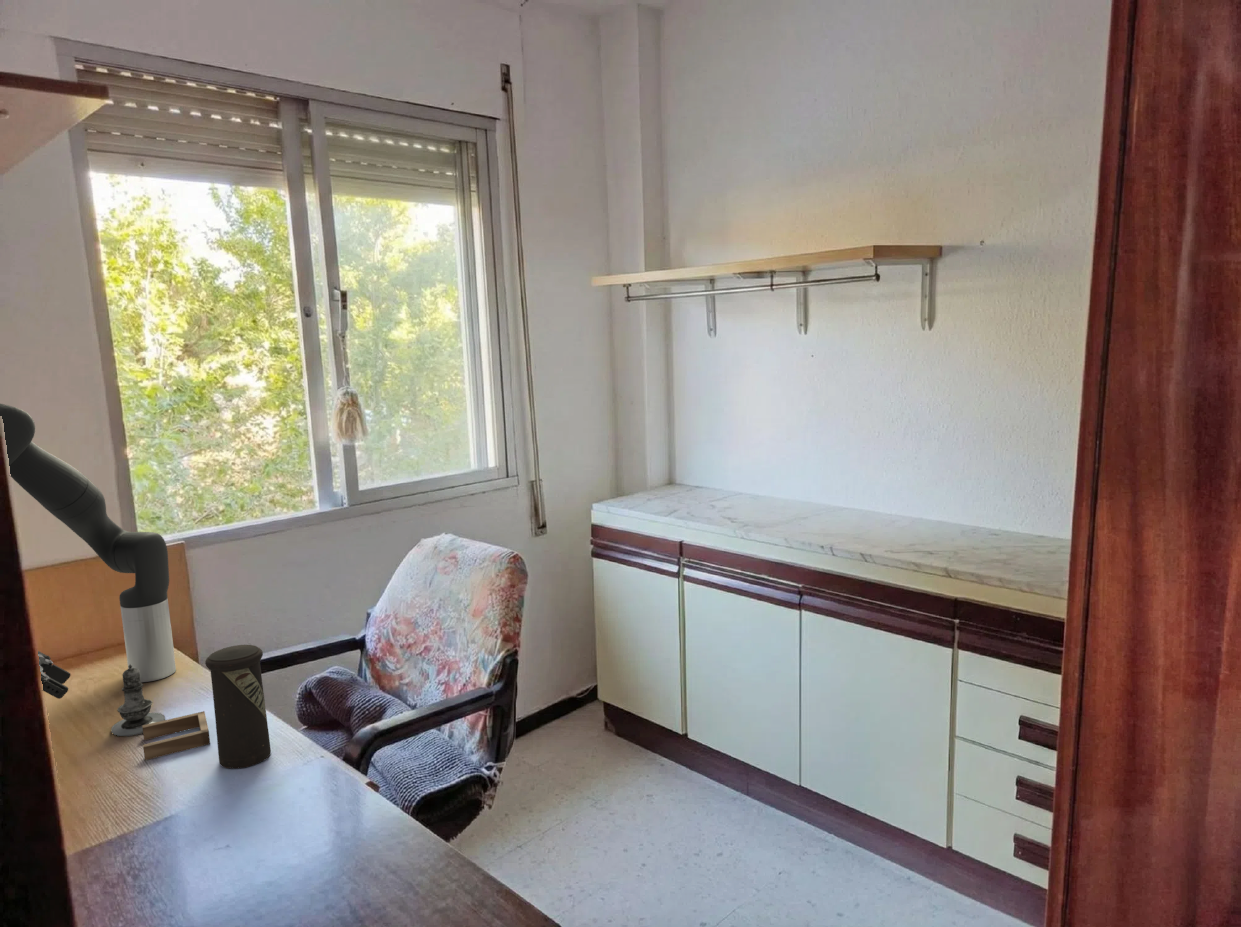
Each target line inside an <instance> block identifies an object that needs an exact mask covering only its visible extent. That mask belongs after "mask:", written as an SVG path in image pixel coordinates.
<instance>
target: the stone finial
mask: <svg viewBox="0 0 1241 927" xmlns="http://www.w3.org/2000/svg"><path fill="white" fill-rule="evenodd" d="M128 667H129V669H128ZM121 676H122V681H123V682H122V683H123V687H122V688H121V691H123V694H124V695H123V696H124V703H123V704H121V705H119V707H117V710H116V711H117V712H118V713H119V715H120V716H121V719H122V720H123V719H125V720H126V721H125V722H124V723H123V724H122V725H121V727H122V728H123V729H136V728H140V727H143V725H147V724H149V723H151V722H152V720H153V718H152V717H149V716H147V715H148V713H151V709H152V705H153V700H152V699H148V698H145V696H144V694H143V687H144V683H143V682H141V679H140V671H139V670H138V669H136V668H132V665H131V664H130V665H129V666H128V665H127V669H125V670H124V671H123V672H122V674H121Z"/></svg>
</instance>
